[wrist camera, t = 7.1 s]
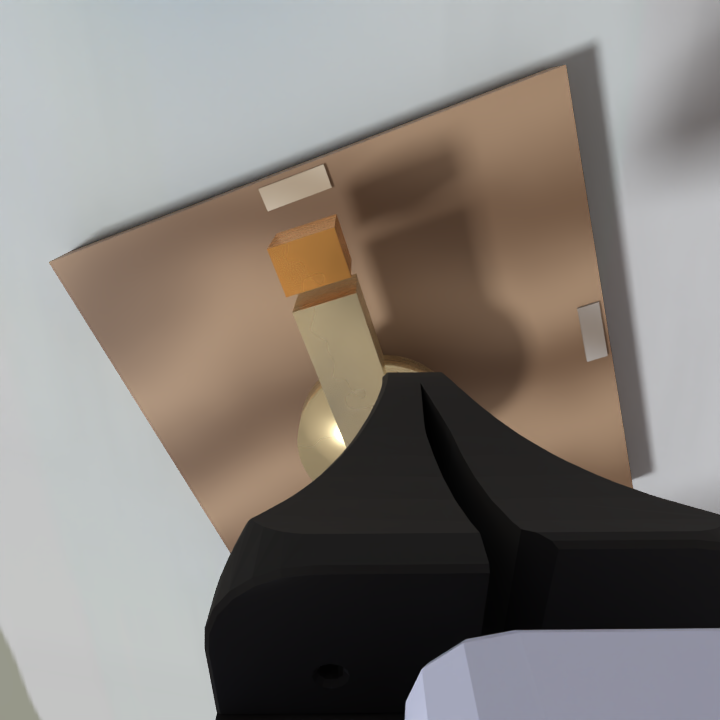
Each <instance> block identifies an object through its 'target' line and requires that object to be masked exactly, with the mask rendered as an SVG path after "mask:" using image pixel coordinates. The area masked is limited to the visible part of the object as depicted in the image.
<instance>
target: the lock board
mask: <svg viewBox="0 0 720 720" xmlns="http://www.w3.org/2000/svg"><path fill="white" fill-rule="evenodd" d="M335 214H337V217H338V220H339V223H340V226H341V229H342V232H343V235H344V238H345V241H346V244H347V247H348V250H349V253H350V256H351V259H352V260H351V275H353V274H357V277H358V280H359V283H360V286H361V289H362V292H363V295H364V298H365V301H366V304H367V307H368V310H369V313H370V316H371V319H372V322H373V325H374V329H375V332H376V335H377V338H378V341H379V344H380V347H381V350H382V353H383V355H394V356H400V357H404V358H408V359H411V360H414V361H416V362H419V363H421V364H422V365H424V366H426V367H428V368H429V369H431V370H432V371H433V372H442V373H443V374H445V375H446V376H447V377H448V378H449V379H450V380H452V381H453V382H454V383H455V384H456V385H457V386H458V387H459V388H461V389H462V390H463V391H464V392H465V393H466V394H467V395H468V396H470V397H471V398H472V399H473V400H474V401H476V402H477V403H478V404H479V405H480V406H482V407H483V408H484V409H485V410H487V411H488V412H489V413H490V414H492V415H493V416H494V417H496V418H497V419H498V420H500V421H501V422H503V423H504V424H505V425H507V426H508V427H510V428H511V429H512V430H514V431H515V432H517V433H518V434H520V435H521V436H523V437H525V438H526V439H528V440H529V441H531V442H533V443H535V444H536V445H538V446H540V447H542V448H543V449H545V450H547V451H548V452H550V453H552V454H554V455H556V456H558V457H560V458H562V459H564V460H566V461H568V462H570V463H572V464H574V465H576V466H579V467H581V468H583V469H585V470H587V471H589V472H592V473H594V474H596V475H599V476H601V477H604V478H606V479H609V480H611V481H614V482H616V483H619V484H621V485H624V486H627V487H630V488H633V485H632V479H631V472H630V466H629V460H628V453H627V447H626V441H625V434H624V428H623V422H622V416H621V409H620V403H619V397H618V390H617V384H616V378H615V371H614V365H613V359H612V352H611V346H610V340H609V333H608V327H607V321H606V314H605V308H604V302H603V295H602V289H601V283H600V276H599V270H598V264H597V258H596V251H595V245H594V239H593V232H592V226H591V220H590V213H589V207H588V201H587V194H586V188H585V182H584V175H583V169H582V163H581V156H580V150H579V144H578V137H577V131H576V125H575V118H574V112H573V106H572V99H571V93H570V87H569V81H568V74H567V68H566V65H562V66H557V67H552V68H548V69H546V70H543V71H541V72H538V73H535V74H533V75H530V76H528V77H525V78H522V79H520V80H517V81H515V82H512V83H509V84H507V85H504V86H501V87H499V88H496V89H494V90H491V91H488V92H486V93H483V94H481V95H478V96H475V97H473V98H470V99H467V100H465V101H462V102H460V103H457V104H454V105H452V106H449V107H447V108H444V109H441V110H439V111H436V112H434V113H431V114H428V115H426V116H423V117H420V118H418V119H415V120H413V121H410V122H407V123H405V124H402V125H400V126H397V127H394V128H392V129H389V130H387V131H384V132H381V133H379V134H376V135H373V136H371V137H368V138H366V139H363V140H360V141H358V142H355V143H353V144H350V145H347V146H345V147H342V148H339V149H337V150H334V151H332V152H329V153H326V154H324V155H321V156H319V157H316V158H313V159H311V160H308V161H306V162H303V163H300V164H298V165H295V166H292V167H290V168H287V169H285V170H282V171H279V172H277V173H274V174H272V175H269V176H266V177H264V178H261V179H259V180H256V181H253V182H251V183H248V184H245V185H243V186H240V187H238V188H235V189H232V190H230V191H227V192H225V193H222V194H219V195H217V196H214V197H212V198H209V199H206V200H204V201H201V202H198V203H196V204H193V205H191V206H188V207H185V208H183V209H180V210H178V211H175V212H172V213H170V214H167V215H164V216H162V217H159V218H157V219H154V220H151V221H149V222H146V223H144V224H141V225H138V226H136V227H133V228H131V229H128V230H125V231H123V232H120V233H117V234H115V235H112V236H110V237H107V238H104V239H102V240H99V241H97V242H94V243H91V244H89V245H86V246H84V247H81V248H78V249H76V250H73V251H70V252H68V253H66V254H64V255H62V256H60V257H58V258H56V259H54V260H52V261H50V262H49V263H50V265H51V267H52V268H53V270H54V271H55V273H56V275H57V276H58V278H59V279H60V281H61V283H62V284H63V286H64V287H65V289H66V291H67V292H68V294H69V295H70V297H71V299H72V300H73V302H74V303H75V305H76V307H77V308H78V310H79V311H80V313H81V315H82V316H83V318H84V319H85V321H86V323H87V324H88V326H89V327H90V329H91V331H92V332H93V334H94V335H95V337H96V339H97V340H98V342H99V343H100V345H101V347H102V348H103V350H104V351H105V353H106V355H107V356H108V358H109V359H110V361H111V363H112V364H113V366H114V367H115V369H116V371H117V372H118V374H119V375H120V377H121V379H122V380H123V382H124V383H125V385H126V387H127V388H128V390H129V391H130V393H131V395H132V396H133V398H134V399H135V401H136V403H137V404H138V406H139V407H140V409H141V411H142V412H143V414H144V415H145V417H146V419H147V420H148V422H149V423H150V425H151V427H152V428H153V430H154V431H155V433H156V435H157V436H158V438H159V439H160V441H161V443H162V444H163V446H164V447H165V449H166V451H167V452H168V454H169V455H170V457H171V459H172V460H173V462H174V463H175V465H176V467H177V468H178V470H179V471H180V473H181V475H182V476H183V478H184V479H185V481H186V483H187V484H188V486H189V487H190V489H191V491H192V492H193V494H194V495H195V497H196V499H197V500H198V502H199V503H200V505H201V507H202V508H203V510H204V511H205V513H206V515H207V516H208V518H209V519H210V521H211V523H212V524H213V526H214V527H215V529H216V531H217V532H218V534H219V535H220V537H221V539H222V540H223V542H224V543H225V545H226V547H227V548H228V550H229V551H230V553H231V552H232V550H233V548H234V546H235V544H236V542H237V540H238V538H239V536H240V534H241V532H242V531H243V529H244V527H245V525H246V524H247V522H248V521H249V520H250V519H251V518H253V517H255V516H257V515H259V514H261V513H263V512H265V511H267V510H268V509H270V508H272V507H274V506H276V505H277V504H279V503H281V502H283V501H285V500H287V499H288V498H290V497H291V496H293V495H294V494H296V493H297V492H299V491H300V490H302V489H303V488H305V487H306V486H307V485H309V484H310V483H311V482H313V481H312V479H311V478H310V477H309V475H308V474H307V472H306V471H305V469H304V467H303V465H302V462H301V459H300V457H299V452H298V441H297V438H298V430H299V424H300V418H301V412H302V409H303V405H304V402H305V400H306V398H307V395H308V394H309V392H310V391H311V389H312V387H313V386H314V385H315V384H316V383H317V381H318V380H319V378H318V376H317V373H316V371H315V368H314V366H313V363H312V361H311V358H310V356H309V353H308V351H307V348H306V346H305V343H304V341H303V338H302V336H301V333H300V331H299V328H298V326H297V323H296V321H295V318H294V316H293V313H292V312H293V309H294V306H295V302H296V299H297V296H298V294H296V295H293V296H289V297H286V296H285V293H284V291H283V288H282V286H281V283H280V281H279V278H278V276H277V273H276V271H275V268H274V266H273V263H272V261H271V258H270V256H269V253H268V251H267V248H268V247H269V245H270V243H271V242H272V240H273V238H274V237H275V235H276V234H277V233H280V232H283V231H286V230H289V229H292V228H295V227H298V226H301V225H304V224H307V223H310V222H313V221H316V220H319V219H322V218H325V217H328V216H332V215H335Z"/></svg>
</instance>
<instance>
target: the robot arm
mask: <svg viewBox="0 0 720 720" xmlns="http://www.w3.org/2000/svg"><path fill="white" fill-rule="evenodd" d="M205 652H206V658H207V663H208V668H209V673H210V679H211V684H212V689H213V694H214V700H215V705H216V710H217V716H216V720H720V515H719V514H715V513H712V512H708V511H705V510H701V509H698V508H694V507H691V506H687V505H684V504H680V503H676V502H673V501H669V500H666V499H662V498H659V497H656V496H653V495H649V494H647V493H644V492H641V491H638V490H635V489H633V488H630V487H627V486H624V485H621V484H619V483H616V482H614V481H611V480H609V479H606V478H604V477H601V476H599V475H596V474H594V473H592V472H589V471H587V470H585V469H583V468H581V467H579V466H576V465H574V464H572V463H570V462H568V461H566V460H564V459H562V458H560V457H558V456H556V455H554V454H552V453H550V452H548V451H547V450H545V449H543V448H542V447H540V446H538V445H536V444H535V443H533V442H531V441H529V440H528V439H526V438H525V437H523V436H521V435H520V434H518V433H517V432H515V431H514V430H512V429H511V428H510V427H508V426H507V425H505V424H504V423H503V422H501V421H500V420H498V419H497V418H496V417H494V416H493V415H492V414H490V413H489V412H488V411H487V410H485V409H484V408H483V407H482V406H480V405H479V404H478V403H477V402H476V401H474V400H473V399H472V398H471V397H470V396H468V395H467V394H466V393H465V392H464V391H463V390H462V389H461V388H459V387H458V386H457V385H456V384H455V383H454V382H453V381H452V380H450V379H449V378H448V377H447V376H446V375H445V374H443V373H442V372H387V373H386V374H385V375H384V376H383V377H382V387H381V390H380V393H379V395H378V398H377V400H376V402H375V404H374V406H373V408H372V410H371V412H370V414H369V416H368V418H367V419H366V421H365V422H364V424H363V426H362V427H361V429H360V430H359V432H358V433H357V435H356V436H355V438H354V439H353V440H352V442H351V443H350V444H349V445H348V447H347V448H346V449H345V450H344V451H343V453H342V454H341V455H340V456H339V457H338V458H337V459H336V460H335V461H334V462H333V463H332V464H331V465H330V466H329V467H328V468H327V469H326V470H325V471H324V472H323V473H322V474H321V475H320V476H319V477H317V478H316V479H315V480H314V481H313V482H311V483H310V484H309V485H307V486H306V487H305V488H303V489H302V490H300V491H299V492H297V493H296V494H294V495H293V496H291V497H290V498H288V499H287V500H285V501H283V502H281V503H279V504H277V505H276V506H274V507H272V508H270V509H268V510H267V511H265V512H263V513H261V514H259V515H257V516H255V517H253V518H251V519H250V520H249V521H248V522H247V524H246V525H245V527H244V529H243V531H242V532H241V534H240V536H239V538H238V540H237V542H236V544H235V546H234V548H233V550H232V552H231V554H230V556H229V558H228V560H227V563H226V565H225V567H224V570H223V572H222V574H221V576H220V579H219V582H218V585H217V588H216V591H215V594H214V598H213V601H212V605H211V608H210V612H209V615H208V619H207V622H206V626H205Z"/></svg>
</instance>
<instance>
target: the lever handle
mask: <svg viewBox="0 0 720 720" xmlns="http://www.w3.org/2000/svg"><path fill="white" fill-rule="evenodd" d="M267 251H268V253H269V256H270V258H271V261H272V263H273V266H274V268H275V271H276V273H277V276H278V278H279V281H280V283H281V286H282V288H283V291H284V293H285V296H286V297H289V296H293V295H296V294H298V296H297V299H296V302H295V306H294V309H293V312H292V313H293V316H294V318H295V321H296V323H297V326H298V328H299V331H300V333H301V336H302V338H303V341H304V343H305V346H306V348H307V351H308V353H309V356H310V358H311V361H312V363H313V366H314V368H315V371H316V373H317V376H318V378H319V380H318V381H317V383H316V384H315V385H314V386H313V387H312V389H311V391H310V392H309V394H308V395H307V398H306V400H305V402H304V405H303V409H302V412H301V418H300V424H299V430H298V438H297V441H298V452H299V457H300V459H301V462H302V465H303V467H304V469H305V471H306V472H307V474H308V475H309V477H310V478H311V479H312V481H314V480H315V479H316V478H317V477H319V476H320V475H321V474H322V473H323V472H324V471H325V470H326V469H327V468H328V467H329V466H330V465H331V464H332V463H333V462H334V461H335V460H336V459H337V458H338V457H339V456H340V455H341V454H342V453H343V451H344V450H345V449H346V448H347V447H348V445H349V444H350V443H351V442H352V440H353V439H354V438H355V436H356V435H357V433H358V432H359V430H360V429H361V427H362V426H363V424H364V422H365V421H366V419H367V418H368V416H369V414H370V412H371V410H372V408H373V406H374V404H375V402H376V400H377V398H378V395H379V393H380V390H381V387H382V377H383V376H384V375H385V374H386V373H387V372H433V371H432V370H431V369H429V368H428V367H426V366H424V365H422V364H421V363H419V362H416V361H414V360H411V359H408V358H404V357H400V356H394V355H383V353H382V350H381V347H380V344H379V341H378V338H377V335H376V332H375V329H374V325H373V322H372V319H371V316H370V313H369V310H368V307H367V304H366V301H365V298H364V295H363V292H362V289H361V286H360V283H359V280H358V277H357V274H353V275H351V260H352V259H351V256H350V253H349V250H348V247H347V244H346V241H345V238H344V235H343V232H342V229H341V226H340V223H339V220H338V217H337V214H335V215H332V216H328V217H325V218H322V219H319V220H316V221H313V222H310V223H307V224H304V225H301V226H298V227H295V228H292V229H289V230H286V231H283V232H280V233H277V234H276V235H275V237H274V238H273V240H272V242H271V243H270V245H269V247H268V248H267Z"/></svg>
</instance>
